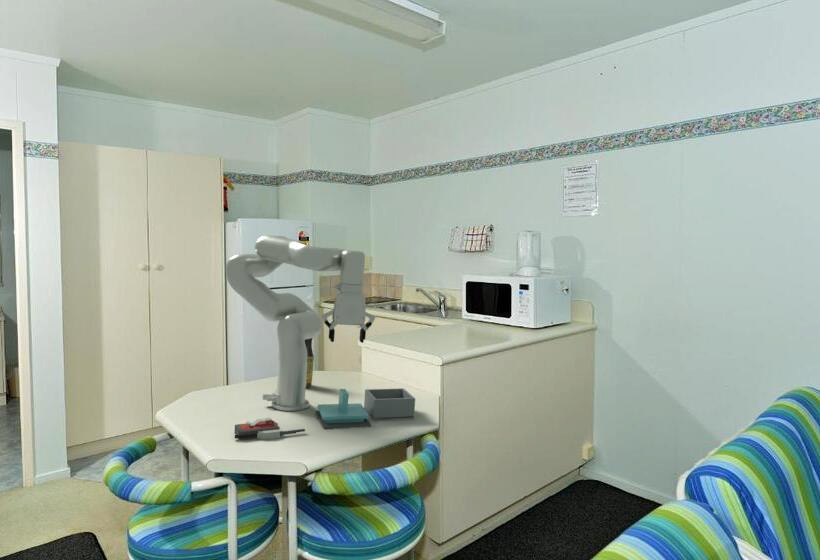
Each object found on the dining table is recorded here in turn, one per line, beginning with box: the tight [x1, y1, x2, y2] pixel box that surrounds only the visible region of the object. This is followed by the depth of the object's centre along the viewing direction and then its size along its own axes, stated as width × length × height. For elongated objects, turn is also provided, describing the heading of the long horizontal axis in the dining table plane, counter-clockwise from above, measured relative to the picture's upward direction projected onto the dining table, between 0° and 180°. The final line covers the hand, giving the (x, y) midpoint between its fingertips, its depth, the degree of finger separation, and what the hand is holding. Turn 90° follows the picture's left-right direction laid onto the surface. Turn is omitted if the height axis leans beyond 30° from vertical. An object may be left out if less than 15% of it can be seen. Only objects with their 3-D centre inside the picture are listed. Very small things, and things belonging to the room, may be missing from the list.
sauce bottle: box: [305, 337, 315, 388], centre depth 208 cm, size 6×6×20 cm
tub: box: [363, 387, 416, 422], centre depth 182 cm, size 14×12×7 cm
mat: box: [314, 409, 372, 430], centre depth 173 cm, size 15×16×1 cm
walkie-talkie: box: [234, 417, 306, 441], centre depth 157 cm, size 9×4×20 cm
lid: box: [317, 388, 370, 423], centre depth 173 cm, size 14×12×8 cm
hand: (346, 341), depth 174 cm, fingers open, 9 cm apart
